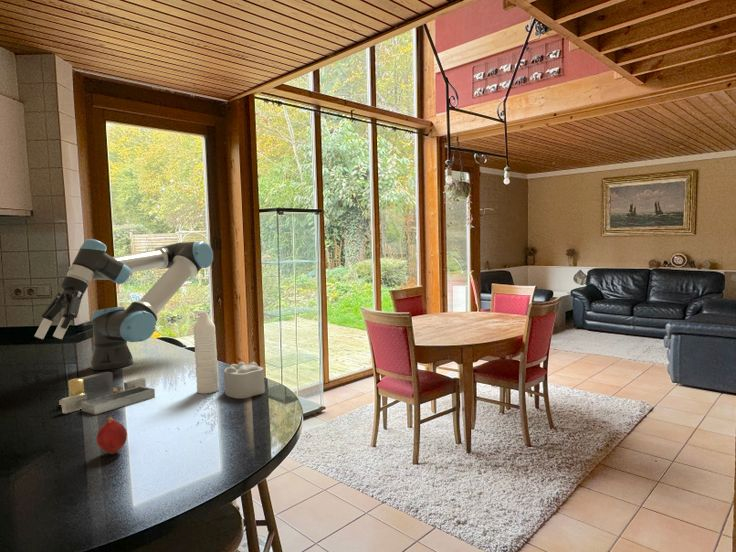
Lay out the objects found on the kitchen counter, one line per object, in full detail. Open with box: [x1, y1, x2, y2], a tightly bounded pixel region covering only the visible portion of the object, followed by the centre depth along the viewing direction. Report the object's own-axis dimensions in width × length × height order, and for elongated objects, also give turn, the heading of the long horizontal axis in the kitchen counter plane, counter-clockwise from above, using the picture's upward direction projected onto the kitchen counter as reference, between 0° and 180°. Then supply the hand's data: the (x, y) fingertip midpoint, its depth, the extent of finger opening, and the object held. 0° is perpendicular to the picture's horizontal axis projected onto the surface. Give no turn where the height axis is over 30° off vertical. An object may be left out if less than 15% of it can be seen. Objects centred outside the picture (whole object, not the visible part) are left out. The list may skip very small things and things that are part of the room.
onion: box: [96, 417, 128, 455], centre depth 105 cm, size 6×6×8 cm
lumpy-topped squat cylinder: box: [223, 361, 266, 400], centre depth 149 cm, size 10×13×9 cm
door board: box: [58, 377, 156, 416], centre depth 144 cm, size 24×19×4 cm
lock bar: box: [67, 371, 115, 400], centre depth 147 cm, size 12×4×7 cm, turn 147°
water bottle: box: [193, 309, 220, 395], centre depth 151 cm, size 9×6×25 cm
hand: (47, 337), depth 159 cm, fingers open, 13 cm apart
